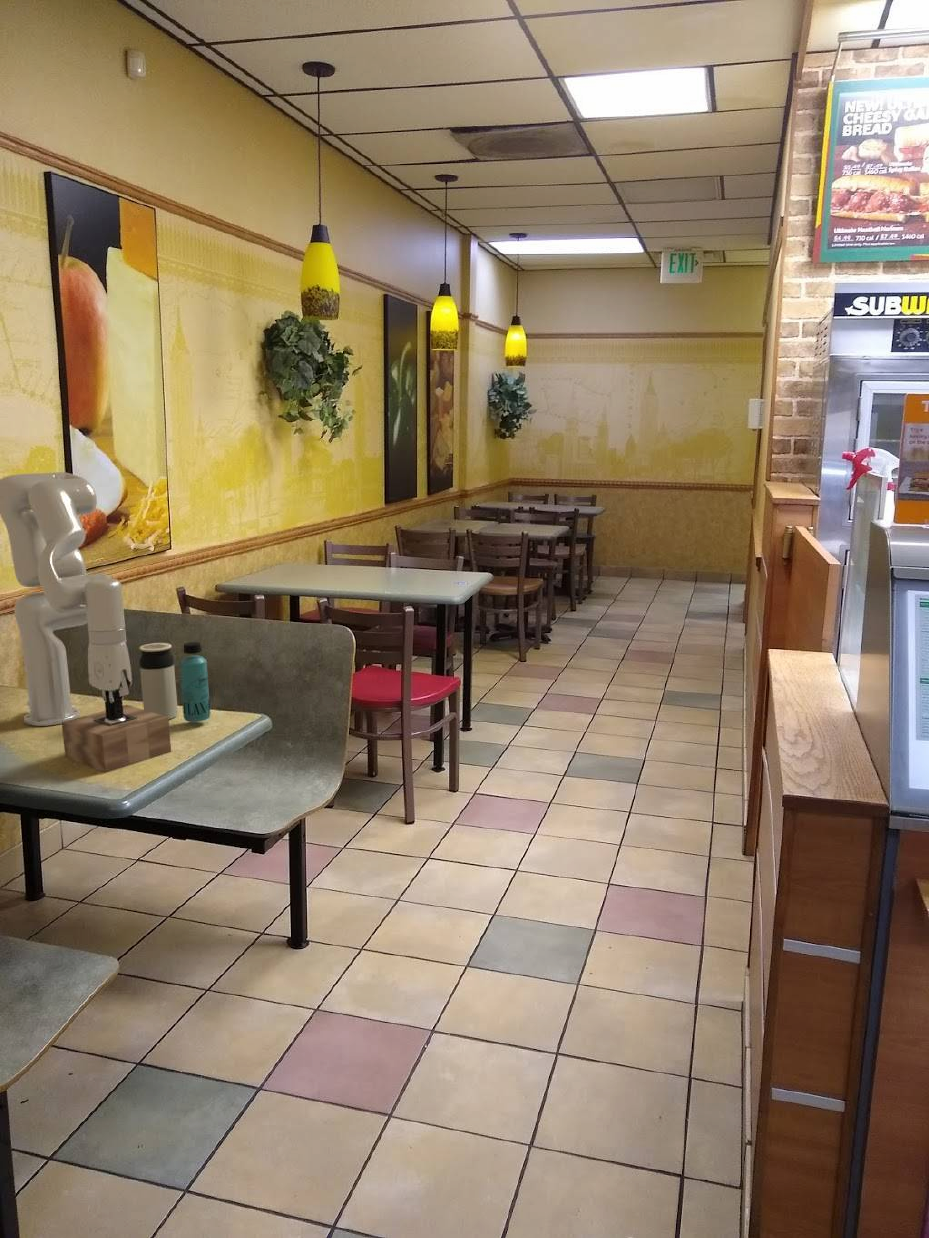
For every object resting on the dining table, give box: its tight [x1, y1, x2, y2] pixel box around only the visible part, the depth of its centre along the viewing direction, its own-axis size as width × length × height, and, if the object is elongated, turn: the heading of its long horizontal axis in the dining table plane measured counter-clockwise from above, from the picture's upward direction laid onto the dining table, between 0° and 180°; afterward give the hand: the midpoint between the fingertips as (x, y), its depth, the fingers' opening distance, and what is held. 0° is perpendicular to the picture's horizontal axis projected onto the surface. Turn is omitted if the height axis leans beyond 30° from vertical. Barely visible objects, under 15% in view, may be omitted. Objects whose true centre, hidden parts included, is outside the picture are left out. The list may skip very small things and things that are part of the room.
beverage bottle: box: [179, 641, 211, 723], centre depth 235 cm, size 6×7×20 cm
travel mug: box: [139, 642, 179, 720], centre depth 241 cm, size 8×8×18 cm
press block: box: [61, 704, 172, 773], centre depth 216 cm, size 16×16×8 cm
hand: (115, 718), depth 215 cm, fingers closed
